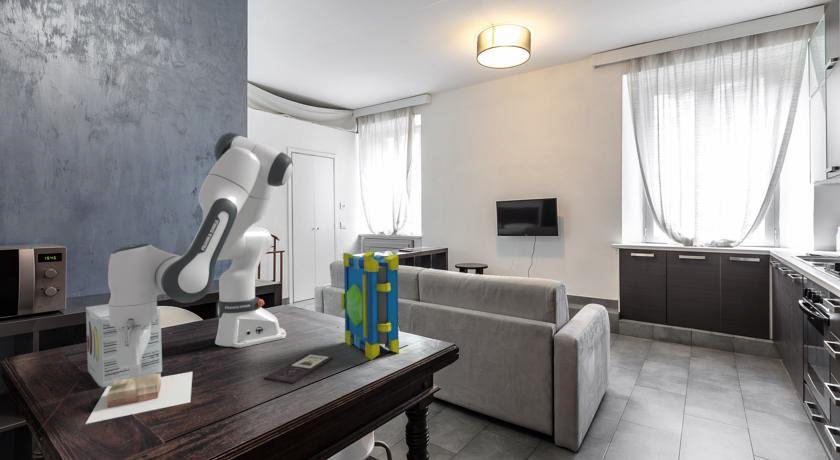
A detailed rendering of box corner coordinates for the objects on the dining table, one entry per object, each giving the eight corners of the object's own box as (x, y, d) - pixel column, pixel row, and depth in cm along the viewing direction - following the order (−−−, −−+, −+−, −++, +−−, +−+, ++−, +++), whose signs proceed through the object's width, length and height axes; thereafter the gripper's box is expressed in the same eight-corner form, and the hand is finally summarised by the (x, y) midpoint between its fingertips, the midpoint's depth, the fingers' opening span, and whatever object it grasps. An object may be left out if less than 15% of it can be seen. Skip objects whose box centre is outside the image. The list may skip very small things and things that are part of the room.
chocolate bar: (264, 377, 99) (306, 354, 116) (264, 381, 99) (306, 357, 116) (293, 382, 96) (332, 357, 113) (293, 385, 96) (332, 360, 113)
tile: (160, 373, 95) (114, 381, 90) (157, 385, 88) (107, 394, 83) (161, 385, 95) (114, 393, 90) (157, 398, 88) (107, 408, 83)
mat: (192, 373, 103) (192, 371, 103) (190, 404, 86) (190, 402, 86) (107, 388, 94) (107, 386, 94) (85, 426, 77) (85, 423, 77)
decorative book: (374, 335, 136) (373, 250, 136) (408, 353, 117) (407, 255, 116) (336, 342, 128) (334, 252, 128) (365, 363, 109) (364, 258, 108)
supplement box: (85, 373, 104) (83, 306, 104) (144, 359, 115) (142, 298, 114) (100, 391, 93) (98, 316, 93) (163, 373, 104) (162, 306, 103)
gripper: (144, 323, 81) (146, 388, 81) (155, 304, 99) (156, 358, 99) (106, 327, 78) (108, 395, 78) (124, 307, 96) (126, 363, 96)
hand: (135, 374), depth 89 cm, fingers closed
